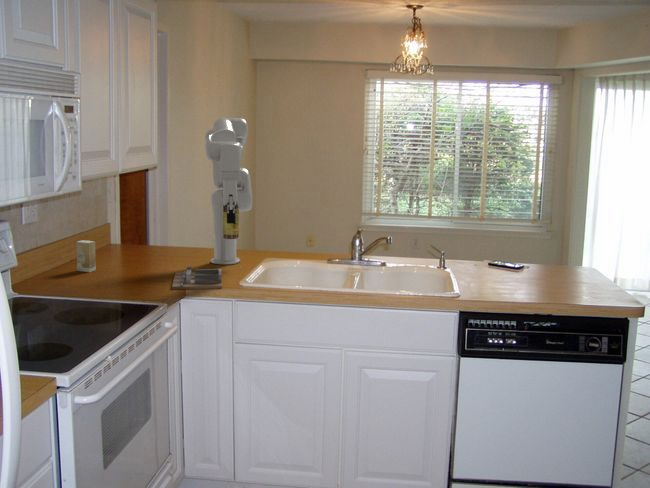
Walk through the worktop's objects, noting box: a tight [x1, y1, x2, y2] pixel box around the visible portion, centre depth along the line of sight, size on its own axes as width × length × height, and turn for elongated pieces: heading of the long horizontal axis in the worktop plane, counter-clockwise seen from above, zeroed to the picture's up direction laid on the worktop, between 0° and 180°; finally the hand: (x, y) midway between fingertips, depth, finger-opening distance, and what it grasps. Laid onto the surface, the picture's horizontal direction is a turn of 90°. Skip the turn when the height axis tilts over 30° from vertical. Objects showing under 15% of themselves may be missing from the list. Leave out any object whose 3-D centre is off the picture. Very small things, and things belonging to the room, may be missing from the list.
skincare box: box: [75, 239, 97, 273], centre depth 276 cm, size 6×4×12 cm
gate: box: [186, 265, 192, 283], centre depth 259 cm, size 10×2×4 cm, turn 9°
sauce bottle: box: [223, 195, 240, 240], centre depth 265 cm, size 7×6×20 cm
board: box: [171, 268, 223, 290], centre depth 262 cm, size 24×18×4 cm
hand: (230, 221), depth 265 cm, fingers closed on sauce bottle, 6 cm apart
